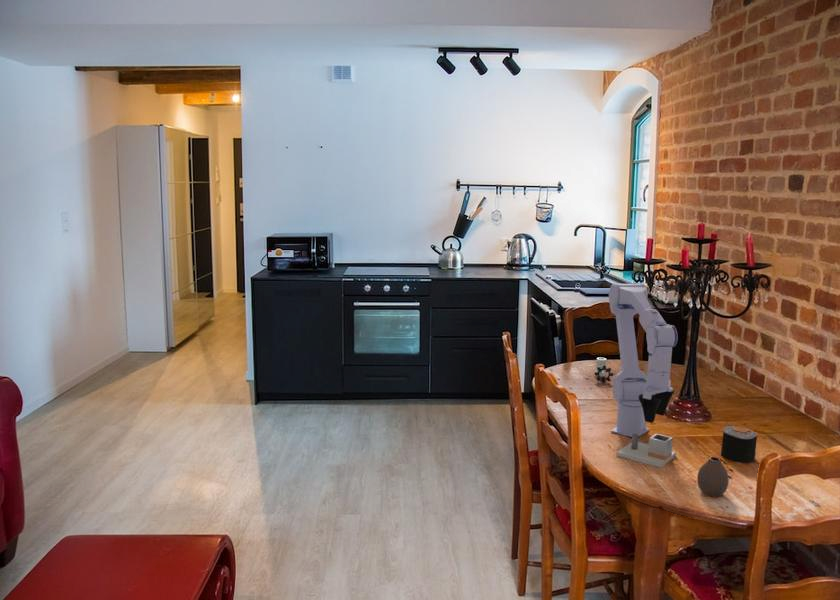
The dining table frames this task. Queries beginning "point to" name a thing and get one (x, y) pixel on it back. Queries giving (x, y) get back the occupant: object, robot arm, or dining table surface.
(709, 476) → the vase
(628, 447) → the pin board
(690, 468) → the dining table surface
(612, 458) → the dining table surface
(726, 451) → the sushi
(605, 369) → the valve
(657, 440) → the sleeve
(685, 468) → the dining table surface
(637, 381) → the robot arm
